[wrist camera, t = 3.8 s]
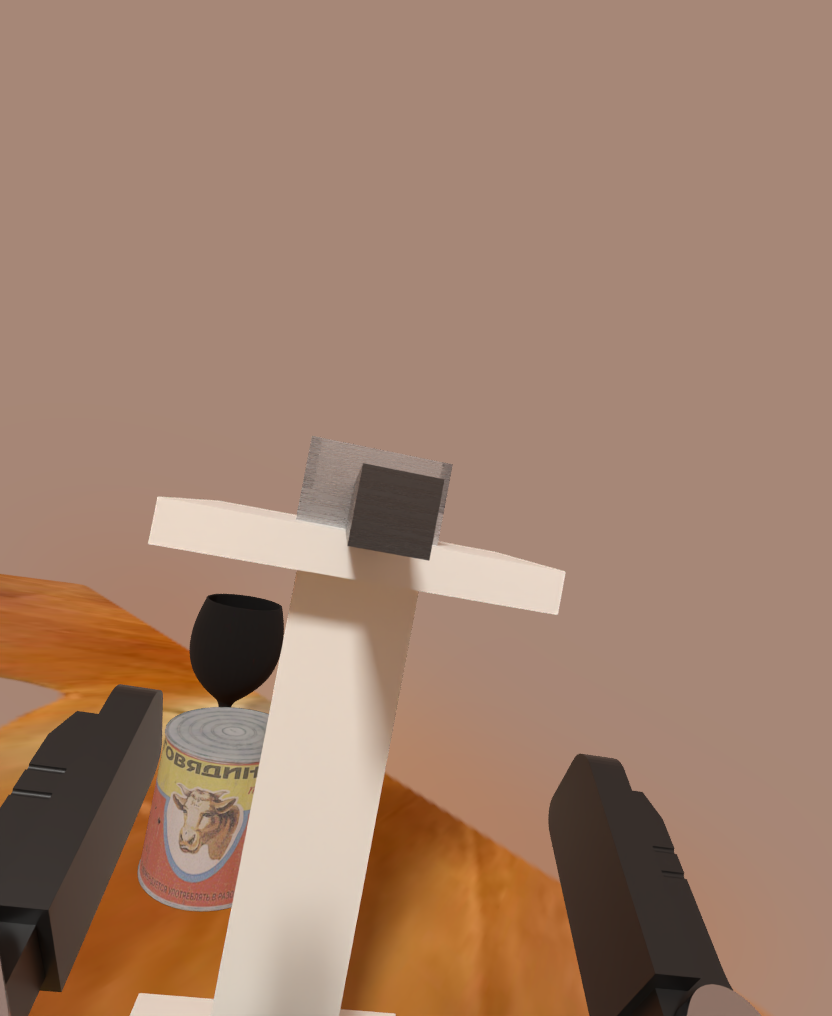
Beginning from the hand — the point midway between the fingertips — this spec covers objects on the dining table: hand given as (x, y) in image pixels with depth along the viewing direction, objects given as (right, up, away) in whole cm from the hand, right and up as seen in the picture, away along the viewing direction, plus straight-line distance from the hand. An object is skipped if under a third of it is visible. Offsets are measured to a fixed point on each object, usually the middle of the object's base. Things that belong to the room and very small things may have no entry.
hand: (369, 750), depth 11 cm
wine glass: (-23, -26, +56) cm, 66 cm away
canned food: (-17, -27, +39) cm, 51 cm away
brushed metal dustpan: (-1, +3, +14) cm, 14 cm away
